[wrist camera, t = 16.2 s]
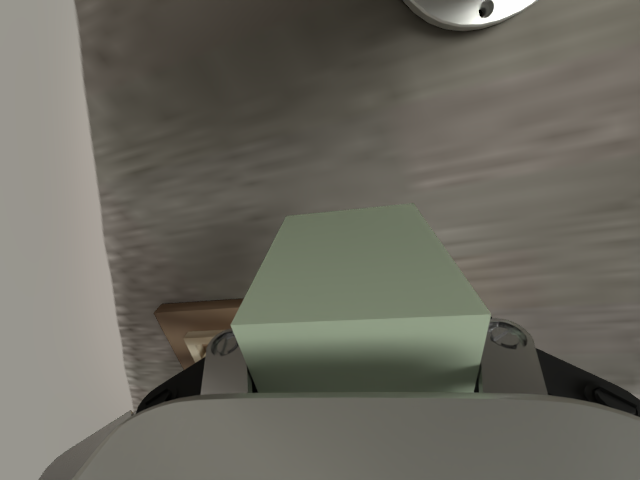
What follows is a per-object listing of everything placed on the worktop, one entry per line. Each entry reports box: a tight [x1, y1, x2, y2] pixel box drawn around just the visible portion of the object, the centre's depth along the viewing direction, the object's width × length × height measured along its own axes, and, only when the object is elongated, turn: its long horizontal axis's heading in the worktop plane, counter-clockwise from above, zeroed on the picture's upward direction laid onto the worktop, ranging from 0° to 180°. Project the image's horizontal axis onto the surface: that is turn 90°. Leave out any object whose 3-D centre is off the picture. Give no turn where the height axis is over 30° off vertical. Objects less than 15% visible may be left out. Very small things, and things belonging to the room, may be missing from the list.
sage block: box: [231, 203, 491, 393], centre depth 10 cm, size 6×6×7 cm
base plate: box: [154, 299, 244, 370], centre depth 31 cm, size 16×16×2 cm
